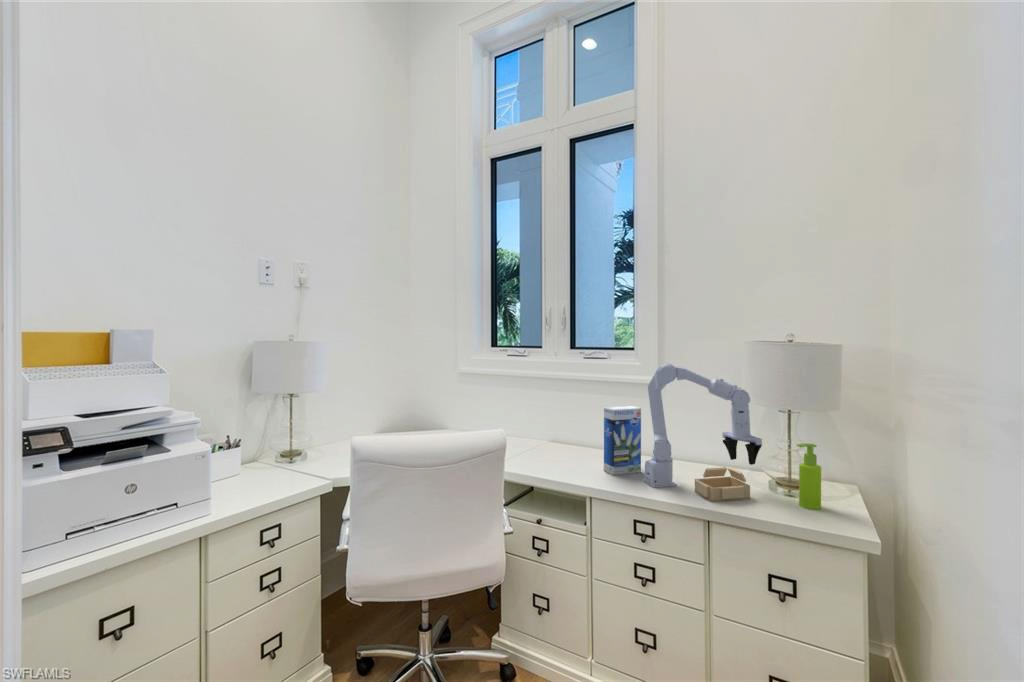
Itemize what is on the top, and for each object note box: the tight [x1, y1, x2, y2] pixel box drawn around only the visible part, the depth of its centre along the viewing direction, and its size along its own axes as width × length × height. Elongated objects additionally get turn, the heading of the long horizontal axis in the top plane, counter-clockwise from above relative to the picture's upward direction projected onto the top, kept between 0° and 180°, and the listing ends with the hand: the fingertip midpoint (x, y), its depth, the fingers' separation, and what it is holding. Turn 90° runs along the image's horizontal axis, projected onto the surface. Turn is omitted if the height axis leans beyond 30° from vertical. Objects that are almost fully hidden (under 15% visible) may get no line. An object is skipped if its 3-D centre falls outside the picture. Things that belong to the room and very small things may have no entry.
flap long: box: [702, 466, 728, 478], centre depth 161 cm, size 8×1×4 cm
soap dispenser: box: [796, 442, 822, 511], centre depth 147 cm, size 6×7×20 cm
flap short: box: [726, 466, 747, 483], centre depth 158 cm, size 1×7×4 cm, turn 11°
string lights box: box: [603, 405, 642, 476], centre depth 185 cm, size 13×8×26 cm, turn 109°
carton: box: [694, 475, 751, 503], centre depth 156 cm, size 15×11×5 cm
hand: (742, 461), depth 161 cm, fingers open, 7 cm apart
